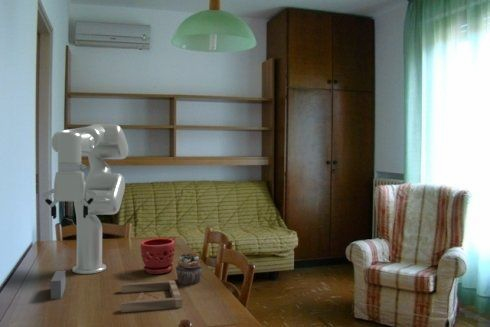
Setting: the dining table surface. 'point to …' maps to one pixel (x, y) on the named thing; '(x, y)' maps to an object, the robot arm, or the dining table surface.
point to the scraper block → (58, 284)
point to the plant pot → (158, 255)
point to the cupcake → (188, 269)
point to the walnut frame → (153, 303)
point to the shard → (146, 297)
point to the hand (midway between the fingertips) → (69, 217)
